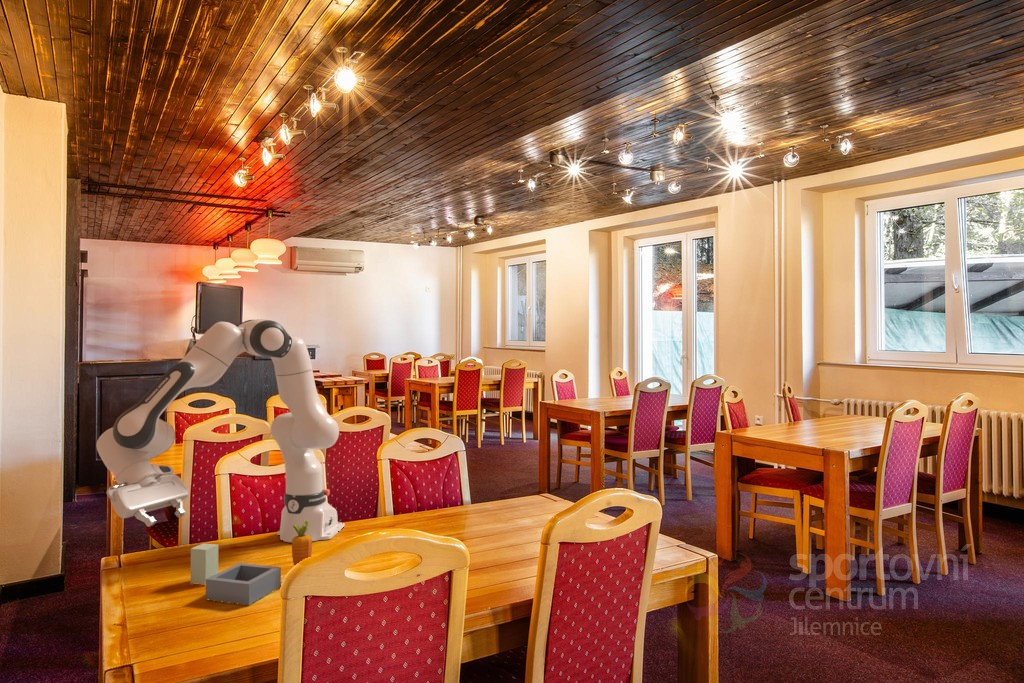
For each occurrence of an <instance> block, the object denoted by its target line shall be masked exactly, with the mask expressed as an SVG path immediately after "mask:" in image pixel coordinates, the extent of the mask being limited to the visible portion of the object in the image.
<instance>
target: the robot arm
mask: <svg viewBox="0 0 1024 683" xmlns="http://www.w3.org/2000/svg"><path fill="white" fill-rule="evenodd" d="M242 353H245V354H247V355H248V354H249V355H251V356H252V355H253V356H256V357H267V358H270V360H271V361H272V363H273V367H274V372H275V373H274V374H275V379H276V383H277V390H278V391H277V392H278V396H279V399H280V400H281V402H282V403H283V404H284V405H285V406H286V407H287V408H288V410H289V411H290V412H285V413H282V414H278V415H277V416H276V417H275V418H274V419H273V420H272V422H271V426H270V435H271V438H272V439H273V440H274V441H275V442H276V443H277V445H278V448H279V451H280V453H281V456H282V459H283V463H284V469H285V492H284V496H283V504H284V507H283V508H282V510H281V517H280V518H281V519H280V526H279V530H277V534H276V535H277V536H278V535H280V536H279V539H280V540H281V541H282V540H283V541H282V542H286V543H292V539H293V538H294V537H295V536H297V535H298V533H297V532H296V530H295V528H294V527H293V525H296V524H297V525H298V526H299V529H300V528H302V526H303V524H305V521H306V520H307V521H308V526H307V528H308V529H307V530H306V532H305V534H307V535H309V536H310V537H311V538H312V542H316V541H325V540H330V539H332V538H333V537H335V536H336V535H337V534H338V533H339V532H340V531H342V530H343V529H344V528H345V527H346V525H345V523H344V522H341V521H338V511H337V509H336V508H335V507H333V506H332V505H331V504H330V503H328V501H326V500H327V498H326V496H330V494H331V490H330V489H328V488H327V489H325V488H323V466H322V465H323V464H322V463H321V462H320V461H319V460H318V458H317V457H316V454H315V452H314V451H317V450H325V449H328V448H329V449H330V448H331V447H333V446H334V445H335V444H336V442H337V441H338V439H339V436H340V428H339V424H338V422H337V421H336V420H335V419H334V418H332V416H331V415H330V414H329V413H328V411H327V410H326V407H325V406H324V405H323V402H322V401H321V398H320V396H319V393H318V390H317V386H316V382H315V377H314V376H315V375H314V372H313V370H314V369H313V365H312V360H311V357H310V353H309V350H308V347H307V345H306V342H305V341H304V339H302V338H301V337H299V336H295V335H289V333H288V332H287V330H286V329H285V328H284V327H283V325H282V324H280V323H278V322H277V321H275V320H269V319H265V318H257V319H248V320H245V321H243V322H240V323H239V324H236V325H235V324H234V323H231V322H228V321H218V322H216V323H214V324H213V325H212V326H211V327H210V328H208V329H207V330H206V331H205V332H204V333H203V334H202V335H201V337H200V338H199V339H198V340H197V341H196V343H194V345H193V346H192V347H191V348H190V350H189V351H188V352H187V353H186V355H185V356H184V357H183V358H182V359H181V360H180V361H178V362H176V363H175V364H174V365H172V366H171V367H170V368H169V369H168V370H167V371H166V372H164V374H163V375H162V376H161V377H160V378H159V379H158V380H157V381H156V382H155V383H154V385H152V386H151V388H150V389H148V391H147V392H146V393H145V394H144V395H143V396H142V397H141V398H140V400H138V401H137V402H136V403H135V404H133V406H131V407H130V408H128V409H126V410H125V411H124V412H122V413H121V414H120V415H119V416H118V417H117V418H116V420H115V422H114V424H113V426H112V427H111V428H108V429H107V430H105V431H104V432H103V433H102V434H101V435H100V436H99V437H98V439H97V440H96V445H95V446H96V450H97V453H98V455H99V457H100V459H101V460H102V462H103V465H104V466H105V467H106V468H107V470H108V471H109V472H110V473H112V474H113V476H114V480H115V481H116V483H117V484H115V485H111V486H109V487H108V488H107V490H106V495H107V497H108V498H109V500H110V503H111V505H112V507H113V509H114V511H115V513H116V515H117V516H118V517H119V518H121V519H123V520H124V519H128V518H131V517H135V518H136V520H139V521H141V522H143V523H144V524H145V525H146V527H152V526H154V525H155V524H157V520H156V519H155V517H154V515H153V516H149V514H147V513H149V512H152V511H156V510H159V509H163V508H165V507H166V508H167V507H170V506H172V507H173V508H176V509H175V512H174V515H175V516H176V517H177V518H182V517H184V516H185V514H186V510H185V509H184V506H183V505H184V504H183V503H184V501H185V500H186V499H187V498H188V497H189V494H190V490H189V488H188V486H187V485H186V484H185V482H184V481H183V480H182V479H181V478H180V476H178V474H175V473H174V472H175V470H174V468H173V467H172V466H171V465H170V466H169V465H159V464H157V463H156V464H155V463H151V462H150V460H153V459H154V458H157V457H158V456H160V455H162V454H164V453H165V452H166V451H168V450H169V449H170V448H172V446H173V445H174V443H175V439H176V433H175V432H176V431H175V429H174V427H173V425H171V424H170V423H168V422H167V421H164V420H163V419H161V418H160V417H161V415H162V414H163V413H164V411H166V410H167V409H168V407H169V406H170V405H171V404H172V403H173V402H174V400H176V398H177V397H178V396H179V395H180V394H181V393H183V392H185V391H186V390H189V389H191V388H192V389H193V388H204V387H209V386H213V385H214V384H215V383H217V382H218V381H219V380H220V379H221V378H222V377H223V375H225V373H226V372H227V370H228V369H229V367H230V366H231V364H232V363H233V362H234V361H235V359H236V358H237V357H238V356H239V355H241V354H242ZM342 523H343V524H342ZM344 526H345V527H344ZM343 527H344V528H343ZM342 528H343V529H342ZM341 529H342V530H341ZM338 531H339V532H338Z"/></svg>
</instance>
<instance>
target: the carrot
mask: <svg viewBox="0 0 1024 683" xmlns="http://www.w3.org/2000/svg"><path fill="white" fill-rule="evenodd" d="M307 526H308V521H307V520H306V521H305V524H303V526H302V528H300V529H299V526H298V525H297V524H296V525H293V527H294V528H295V530H296V532H297V533H298V535H297V536H295V537H294V538H293V539H292V542H291V553H292V554H291V555H292V562H293V563H292V564H293V566H294V565H296V564H297V563H299V562H300V561H302V560H303V559H305V558H308V557H311V558H312V553H313V552H312V551H313V550H312V547H313V541H312V538H311V537H310V536H309V535H307V534H305V532H306V530H307V529H308V528H307Z"/></svg>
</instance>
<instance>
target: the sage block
mask: <svg viewBox="0 0 1024 683" xmlns="http://www.w3.org/2000/svg"><path fill="white" fill-rule="evenodd" d="M218 573H219V544H215V543H201V544H199V545H196V546H194V547H192V548H190V584H191V583H198V584H206V579H207V578H209V577H211V576H213V575H216V574H218Z"/></svg>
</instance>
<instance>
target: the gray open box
mask: <svg viewBox="0 0 1024 683" xmlns="http://www.w3.org/2000/svg"><path fill="white" fill-rule="evenodd" d="M281 576H282V567H281V566H273V565H265V564H264V565H263V564H255V563H254V564H253V563H244V562H238V563H237V564H234V565H232V566H231V567H229V568H226V569H224V570H222V571H219V572H218V574H216V575H213V576H211V577H209V578H207V579H206V586H205V600H206V599H209V600H215V601H223V602H230V603H238V604H244V605H243V606H246V605H250V604H251V605H253V604H254V603H253V602H255V601H257V600H258V601H260V600H261V599H260V598H262V597H263V598H265V597H267V596H268V595H270V594H271V593H270V592H272V591H274V590H275V589H277V588H279V589H280V588H281V587H280V584H281V585H282V583H281V581H282V577H281ZM277 590H278V589H277ZM275 591H276V590H275ZM275 591H274V592H275ZM269 593H270V594H269ZM272 593H273V592H272ZM267 594H268V595H267ZM266 595H267V596H266ZM264 596H265V597H264ZM263 598H262V599H263ZM259 599H260V600H259ZM215 601H214V602H215ZM258 601H257V602H258ZM230 603H229V604H230ZM252 603H253V604H252ZM255 603H256V602H255ZM238 604H237V605H238ZM251 605H250V606H251Z"/></svg>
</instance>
